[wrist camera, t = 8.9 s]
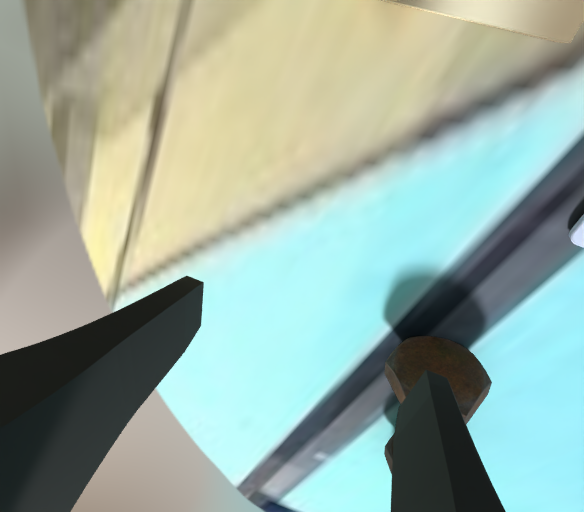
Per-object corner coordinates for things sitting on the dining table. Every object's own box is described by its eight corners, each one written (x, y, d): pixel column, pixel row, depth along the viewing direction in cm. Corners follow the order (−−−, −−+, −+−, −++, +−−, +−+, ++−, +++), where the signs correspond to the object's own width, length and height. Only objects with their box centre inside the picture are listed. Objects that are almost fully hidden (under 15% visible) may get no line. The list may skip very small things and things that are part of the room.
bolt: (406, 440, 31) (424, 320, 23) (461, 485, 28) (504, 362, 20) (366, 489, 28) (370, 371, 20) (421, 546, 25) (454, 431, 17)
